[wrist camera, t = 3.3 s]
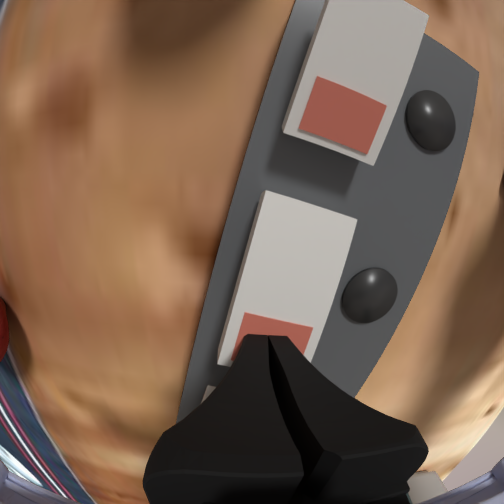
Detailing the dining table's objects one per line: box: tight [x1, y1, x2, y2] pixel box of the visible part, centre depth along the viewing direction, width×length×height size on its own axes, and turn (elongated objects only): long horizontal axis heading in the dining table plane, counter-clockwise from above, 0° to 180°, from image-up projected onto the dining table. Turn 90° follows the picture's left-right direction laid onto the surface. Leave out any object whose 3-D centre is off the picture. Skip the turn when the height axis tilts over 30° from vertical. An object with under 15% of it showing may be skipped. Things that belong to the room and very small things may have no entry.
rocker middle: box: [217, 190, 358, 367], centre depth 10 cm, size 3×6×1 cm, turn 164°
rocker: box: [282, 0, 429, 166], centre depth 8 cm, size 3×6×1 cm, turn 163°
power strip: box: [176, 0, 479, 424], centre depth 13 cm, size 9×27×4 cm, turn 164°
